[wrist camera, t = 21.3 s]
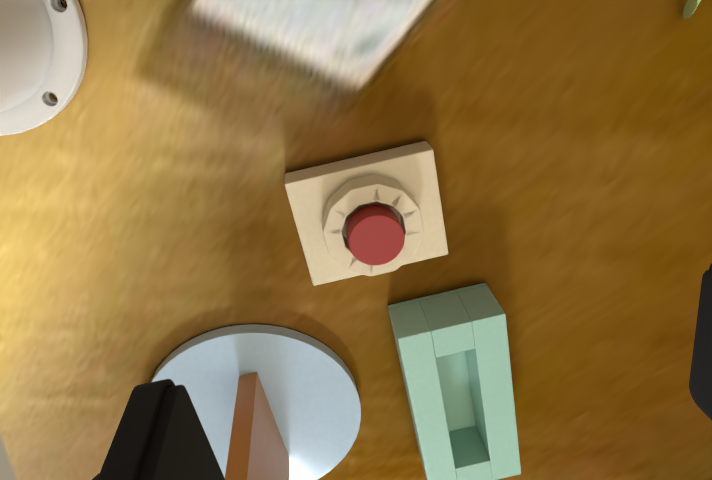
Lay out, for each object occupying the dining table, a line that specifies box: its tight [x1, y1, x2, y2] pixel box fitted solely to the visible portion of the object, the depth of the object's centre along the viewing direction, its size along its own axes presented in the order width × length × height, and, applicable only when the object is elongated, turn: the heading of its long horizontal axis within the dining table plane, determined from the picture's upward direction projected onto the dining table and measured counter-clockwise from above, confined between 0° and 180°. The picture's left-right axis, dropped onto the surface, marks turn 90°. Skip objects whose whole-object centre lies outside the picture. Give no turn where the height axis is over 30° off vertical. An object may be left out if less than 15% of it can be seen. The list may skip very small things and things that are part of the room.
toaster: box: [388, 283, 521, 480], centre depth 44 cm, size 8×17×4 cm, turn 12°
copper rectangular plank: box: [225, 372, 290, 480], centre depth 40 cm, size 2×10×11 cm, turn 12°
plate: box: [150, 324, 361, 480], centre depth 45 cm, size 18×18×1 cm
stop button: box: [346, 205, 405, 265], centre depth 35 cm, size 4×4×2 cm
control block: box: [285, 141, 448, 286], centre depth 37 cm, size 10×8×4 cm
